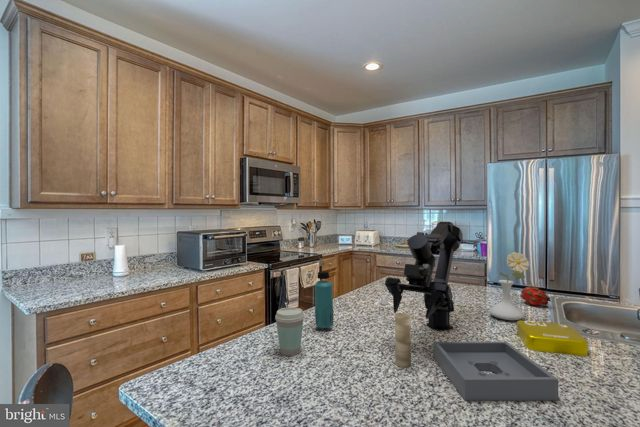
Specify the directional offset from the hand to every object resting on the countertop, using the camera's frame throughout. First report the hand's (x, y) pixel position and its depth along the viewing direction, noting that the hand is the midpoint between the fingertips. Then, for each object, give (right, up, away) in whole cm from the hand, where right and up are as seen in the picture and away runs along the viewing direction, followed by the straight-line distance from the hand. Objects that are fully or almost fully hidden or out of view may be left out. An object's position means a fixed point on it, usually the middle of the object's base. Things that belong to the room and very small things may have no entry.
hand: (410, 314), depth 91 cm
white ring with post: (+6, -12, +52) cm, 53 cm away
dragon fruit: (+66, -11, +46) cm, 81 cm away
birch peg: (-3, -12, -4) cm, 13 cm away
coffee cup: (-34, -12, +4) cm, 37 cm away
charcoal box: (+16, -12, -11) cm, 23 cm away
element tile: (+45, -12, +8) cm, 47 cm away
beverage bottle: (-24, -12, +22) cm, 35 cm away
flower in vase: (+46, -11, +31) cm, 56 cm away
